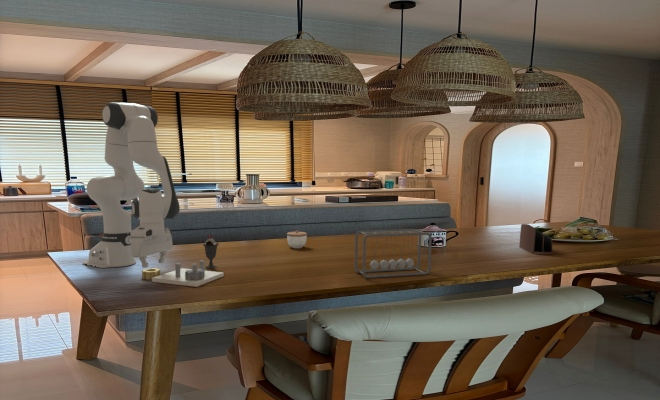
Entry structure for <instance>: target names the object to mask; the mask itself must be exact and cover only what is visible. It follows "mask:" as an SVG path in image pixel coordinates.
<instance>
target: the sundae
mask: <svg viewBox="0 0 660 400" xmlns="http://www.w3.org/2000/svg"><path fill="white" fill-rule="evenodd" d="M209 233H210V235H209V236H208V238H207V239H206V241H205V242H204V243H203V244H202V246H203V247H204V250H205V252H204V253H205V257H206V258H207V259H208V260H209V264H208V265H205V269H216V268H217V266H216V265H214V264H213V259H215V258H216V255H217V250H218V249H217V248H218V246H220V245H219V242H216V241H215V239H214V238H213V235H212V234H211V233H212V232H209Z"/></svg>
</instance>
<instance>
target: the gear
mask: <svg viewBox="0 0 660 400" xmlns="http://www.w3.org/2000/svg"><path fill="white" fill-rule="evenodd" d="M161 273H162V270H161V269H160V268H154V267H153V268H144V269H142V270H141V278H142V280H147V281H148V280H149V281H150V280H152V278H153V277H156V276H159V275H162V274H161Z"/></svg>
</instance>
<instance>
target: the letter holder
mask: <svg viewBox="0 0 660 400" xmlns="http://www.w3.org/2000/svg"><path fill="white" fill-rule="evenodd" d="M518 246H519V248H520V249H521V250H524V251H526V252H528V253H530V254H532V255H553V239H552V238H551V237H549V236H548V235H546V234H543V233H542V232H541V231H539V230H537V229H536V227H534V226H532V225H530V224H528V223H522V224H521V225H520V232H519V245H518Z"/></svg>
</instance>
